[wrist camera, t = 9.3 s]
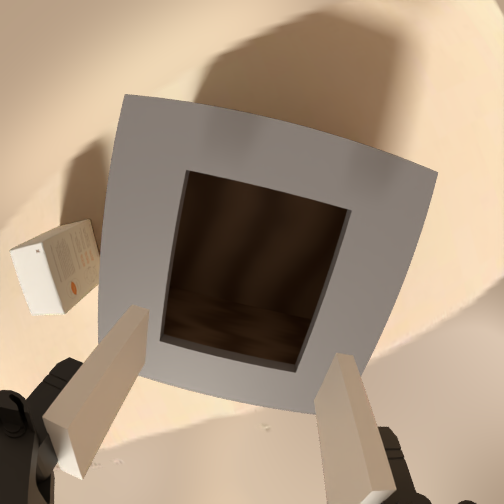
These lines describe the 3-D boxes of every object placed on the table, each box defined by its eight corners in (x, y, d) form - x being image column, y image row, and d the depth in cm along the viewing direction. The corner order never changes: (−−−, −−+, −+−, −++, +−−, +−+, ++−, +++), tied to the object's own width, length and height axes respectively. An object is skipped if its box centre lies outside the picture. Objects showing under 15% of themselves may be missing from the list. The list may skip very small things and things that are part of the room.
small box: (59, 225, 36) (7, 248, 26) (91, 217, 36) (40, 240, 26) (74, 282, 39) (30, 317, 29) (107, 278, 38) (64, 315, 28)
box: (157, 286, 38) (99, 361, 23) (187, 118, 32) (124, 94, 17) (316, 323, 38) (338, 417, 23) (366, 162, 32) (438, 172, 17)
